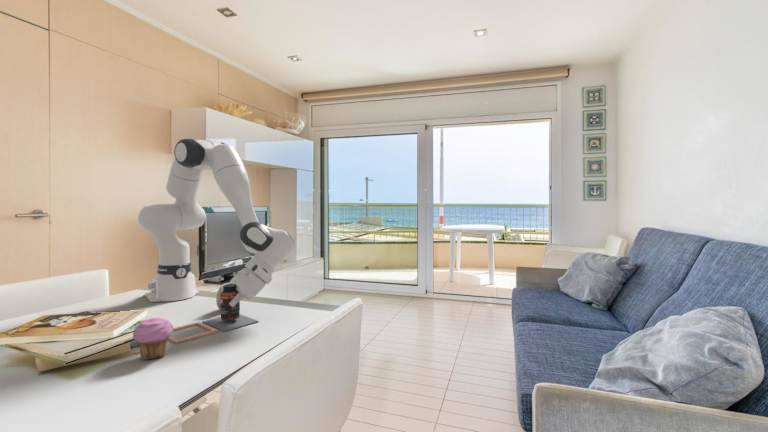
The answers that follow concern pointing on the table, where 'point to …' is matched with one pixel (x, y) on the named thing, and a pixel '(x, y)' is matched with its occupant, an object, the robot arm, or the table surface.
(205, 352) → the table surface
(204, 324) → the frame
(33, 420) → the table surface
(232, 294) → the supplement bottle
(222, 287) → the white toy tire
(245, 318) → the mat
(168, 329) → the cupcake
